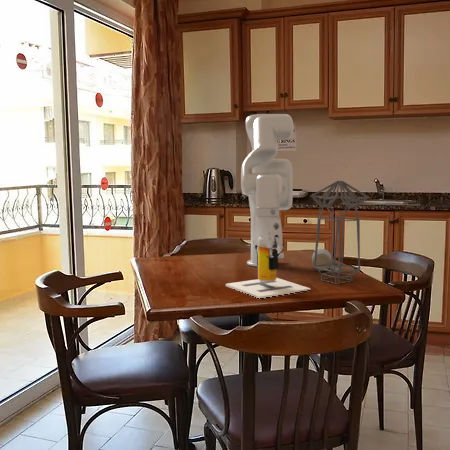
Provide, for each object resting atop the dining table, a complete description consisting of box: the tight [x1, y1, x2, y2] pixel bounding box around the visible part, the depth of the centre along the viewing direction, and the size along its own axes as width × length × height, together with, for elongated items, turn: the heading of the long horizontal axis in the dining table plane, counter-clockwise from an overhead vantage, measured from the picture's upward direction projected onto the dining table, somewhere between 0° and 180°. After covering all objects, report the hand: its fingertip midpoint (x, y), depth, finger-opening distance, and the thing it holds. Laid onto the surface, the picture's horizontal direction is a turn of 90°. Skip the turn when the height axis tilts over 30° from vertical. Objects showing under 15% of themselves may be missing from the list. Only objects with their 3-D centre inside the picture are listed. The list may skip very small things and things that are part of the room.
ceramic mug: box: [311, 248, 339, 272], centre depth 201 cm, size 11×8×8 cm
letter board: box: [225, 277, 311, 300], centre depth 173 cm, size 20×20×1 cm
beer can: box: [257, 236, 278, 283], centre depth 172 cm, size 6×6×15 cm
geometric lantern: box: [310, 180, 371, 285], centre depth 182 cm, size 16×16×35 cm
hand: (267, 267), depth 172 cm, fingers closed on beer can, 6 cm apart
